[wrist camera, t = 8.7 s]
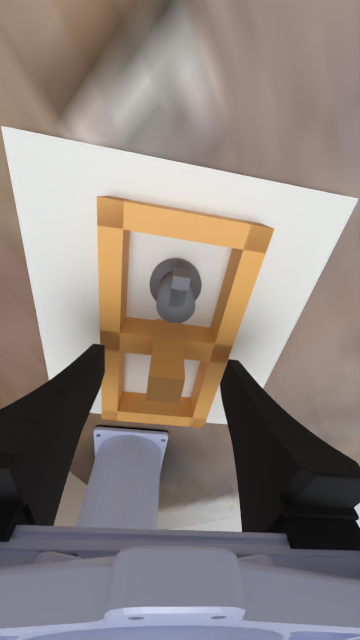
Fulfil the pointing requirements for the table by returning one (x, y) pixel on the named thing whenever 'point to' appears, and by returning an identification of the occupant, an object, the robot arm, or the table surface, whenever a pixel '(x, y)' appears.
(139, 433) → the robot arm
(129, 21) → the table surface
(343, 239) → the table surface
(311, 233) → the board
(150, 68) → the table surface
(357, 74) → the table surface
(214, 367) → the orange link
